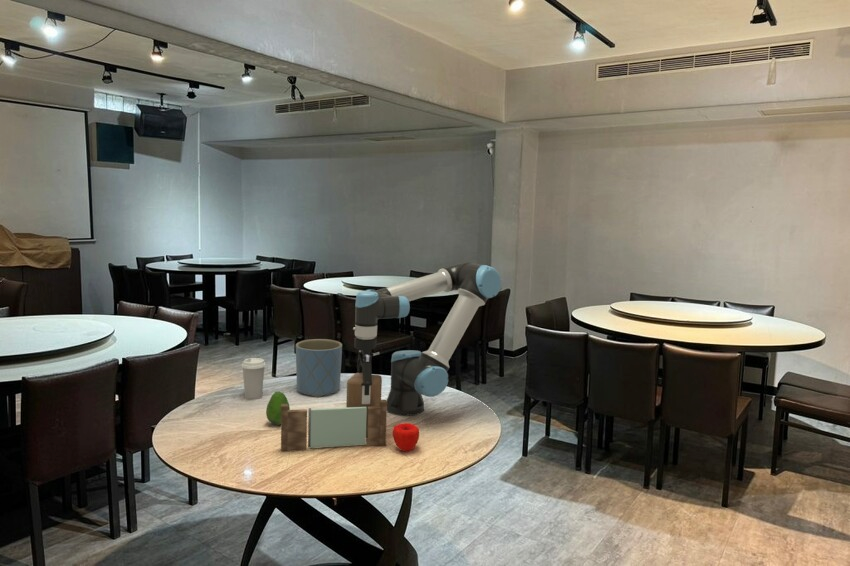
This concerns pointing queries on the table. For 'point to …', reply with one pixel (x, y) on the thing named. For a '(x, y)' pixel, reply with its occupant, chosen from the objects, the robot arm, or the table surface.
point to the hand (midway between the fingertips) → (363, 397)
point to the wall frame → (297, 427)
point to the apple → (406, 436)
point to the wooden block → (356, 392)
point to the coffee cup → (253, 377)
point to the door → (337, 427)
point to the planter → (318, 366)
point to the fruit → (276, 407)
